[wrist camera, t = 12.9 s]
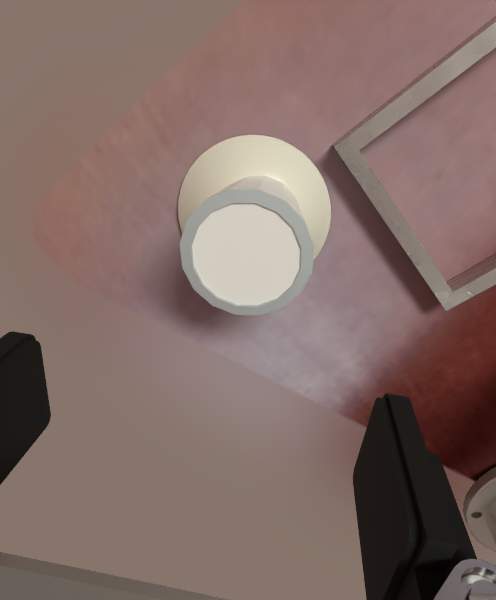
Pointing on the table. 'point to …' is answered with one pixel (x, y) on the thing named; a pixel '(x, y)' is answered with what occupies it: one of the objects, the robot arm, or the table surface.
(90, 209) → the table surface
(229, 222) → the white cup
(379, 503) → the robot arm
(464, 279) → the holder collar
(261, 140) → the cream flat disc
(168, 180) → the table surface
